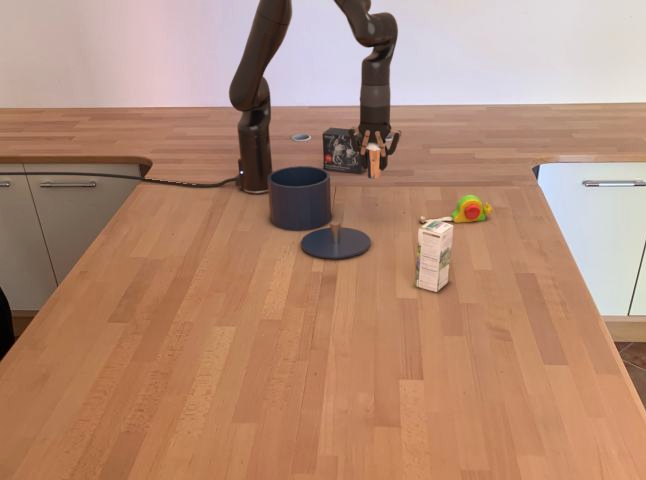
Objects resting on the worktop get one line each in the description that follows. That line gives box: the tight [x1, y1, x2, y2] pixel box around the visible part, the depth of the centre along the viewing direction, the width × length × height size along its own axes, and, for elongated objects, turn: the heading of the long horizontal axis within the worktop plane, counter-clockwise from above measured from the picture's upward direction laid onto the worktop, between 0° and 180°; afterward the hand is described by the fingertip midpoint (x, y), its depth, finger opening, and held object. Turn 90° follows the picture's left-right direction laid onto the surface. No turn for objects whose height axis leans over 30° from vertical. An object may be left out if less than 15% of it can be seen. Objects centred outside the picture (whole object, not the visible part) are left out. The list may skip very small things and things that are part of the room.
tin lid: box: [300, 220, 371, 260], centre depth 178 cm, size 18×18×6 cm
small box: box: [322, 127, 366, 175], centre depth 225 cm, size 13×7×12 cm, turn 68°
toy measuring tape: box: [419, 194, 493, 224], centre depth 189 cm, size 6×19×7 cm, turn 95°
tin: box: [267, 165, 332, 232], centre depth 192 cm, size 17×17×12 cm
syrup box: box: [414, 220, 454, 293], centre depth 157 cm, size 6×6×14 cm
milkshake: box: [366, 139, 388, 180], centre depth 183 cm, size 4×5×10 cm
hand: (374, 168), depth 185 cm, fingers closed on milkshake, 4 cm apart
